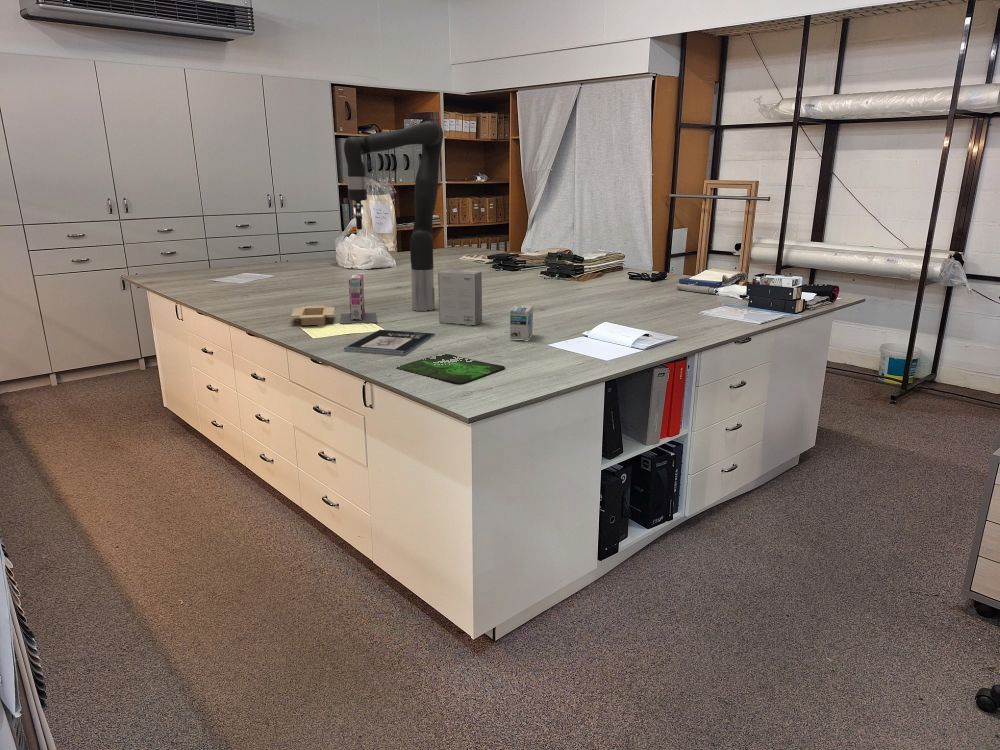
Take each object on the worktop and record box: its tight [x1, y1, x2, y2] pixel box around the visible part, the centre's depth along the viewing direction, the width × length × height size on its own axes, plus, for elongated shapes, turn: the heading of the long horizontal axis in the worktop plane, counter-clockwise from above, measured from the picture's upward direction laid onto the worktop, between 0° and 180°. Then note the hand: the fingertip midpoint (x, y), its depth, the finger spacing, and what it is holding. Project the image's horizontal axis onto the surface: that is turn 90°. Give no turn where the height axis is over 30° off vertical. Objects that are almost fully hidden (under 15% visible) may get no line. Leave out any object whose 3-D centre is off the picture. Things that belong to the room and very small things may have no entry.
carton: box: [290, 305, 335, 326], centre depth 262 cm, size 16×22×4 cm
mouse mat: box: [395, 353, 506, 385], centre depth 204 cm, size 27×22×1 cm
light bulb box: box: [509, 304, 534, 341], centre depth 240 cm, size 11×7×11 cm, turn 169°
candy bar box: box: [348, 274, 366, 320], centre depth 266 cm, size 11×5×16 cm, turn 7°
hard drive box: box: [437, 269, 483, 326], centre depth 260 cm, size 16×8×20 cm, turn 71°
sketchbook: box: [343, 329, 436, 357], centre depth 232 cm, size 22×30×2 cm
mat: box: [339, 312, 378, 325], centre depth 268 cm, size 14×18×1 cm
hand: (359, 228), depth 282 cm, fingers open, 8 cm apart
